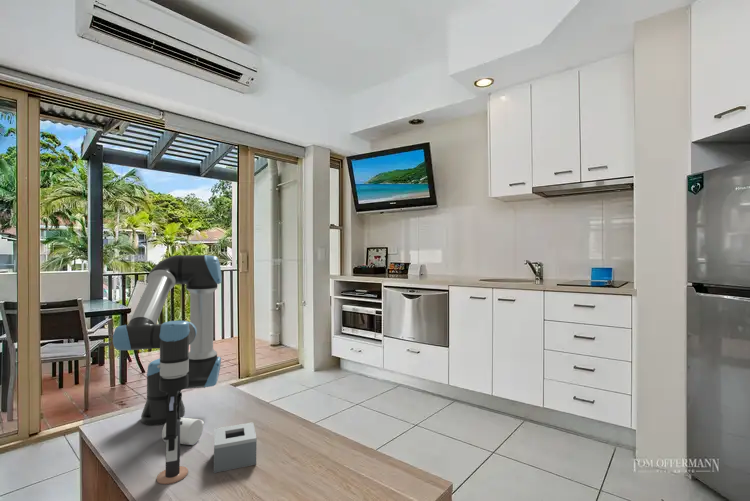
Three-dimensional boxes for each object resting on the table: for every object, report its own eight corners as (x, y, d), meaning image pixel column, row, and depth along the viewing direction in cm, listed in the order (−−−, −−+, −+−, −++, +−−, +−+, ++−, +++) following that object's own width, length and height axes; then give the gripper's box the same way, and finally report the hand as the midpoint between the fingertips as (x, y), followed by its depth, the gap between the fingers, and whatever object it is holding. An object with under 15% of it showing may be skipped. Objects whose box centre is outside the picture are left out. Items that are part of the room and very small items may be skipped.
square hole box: (214, 453, 120) (214, 428, 120) (252, 446, 125) (253, 422, 125) (213, 473, 109) (214, 445, 109) (256, 464, 114) (256, 438, 114)
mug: (187, 449, 123) (187, 425, 123) (161, 446, 125) (161, 422, 125) (210, 433, 134) (210, 410, 135) (186, 430, 136) (186, 408, 137)
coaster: (158, 471, 110) (159, 469, 110) (189, 465, 113) (189, 463, 113) (154, 487, 102) (154, 484, 102) (186, 480, 106) (187, 478, 106)
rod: (166, 472, 109) (167, 420, 109) (180, 469, 110) (180, 418, 110) (164, 478, 105) (165, 425, 106) (178, 476, 107) (179, 423, 107)
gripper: (164, 367, 116) (162, 442, 115) (154, 386, 98) (152, 475, 98) (190, 364, 119) (189, 437, 118) (185, 383, 101) (184, 469, 100)
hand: (173, 454), depth 108 cm, fingers open, 6 cm apart
